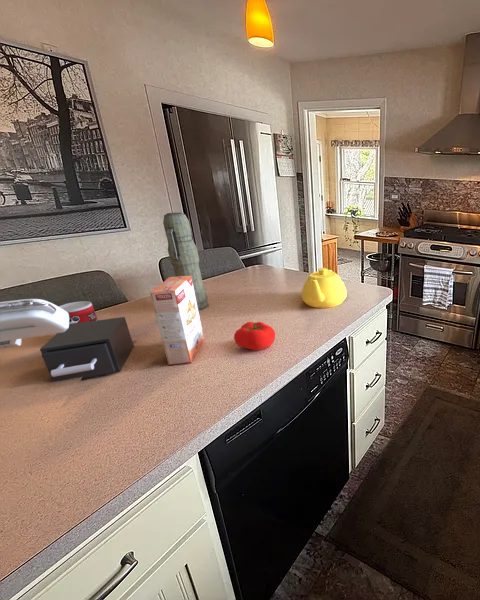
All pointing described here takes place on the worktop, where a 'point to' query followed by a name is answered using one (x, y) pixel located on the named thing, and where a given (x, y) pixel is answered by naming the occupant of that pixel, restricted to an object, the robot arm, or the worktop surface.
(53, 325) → the robot arm
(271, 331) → the tomato
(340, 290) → the teapot
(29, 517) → the worktop surface
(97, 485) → the worktop surface
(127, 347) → the small drawer unit
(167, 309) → the cracker box
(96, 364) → the drawer
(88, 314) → the canned food
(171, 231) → the thermos
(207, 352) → the worktop surface
